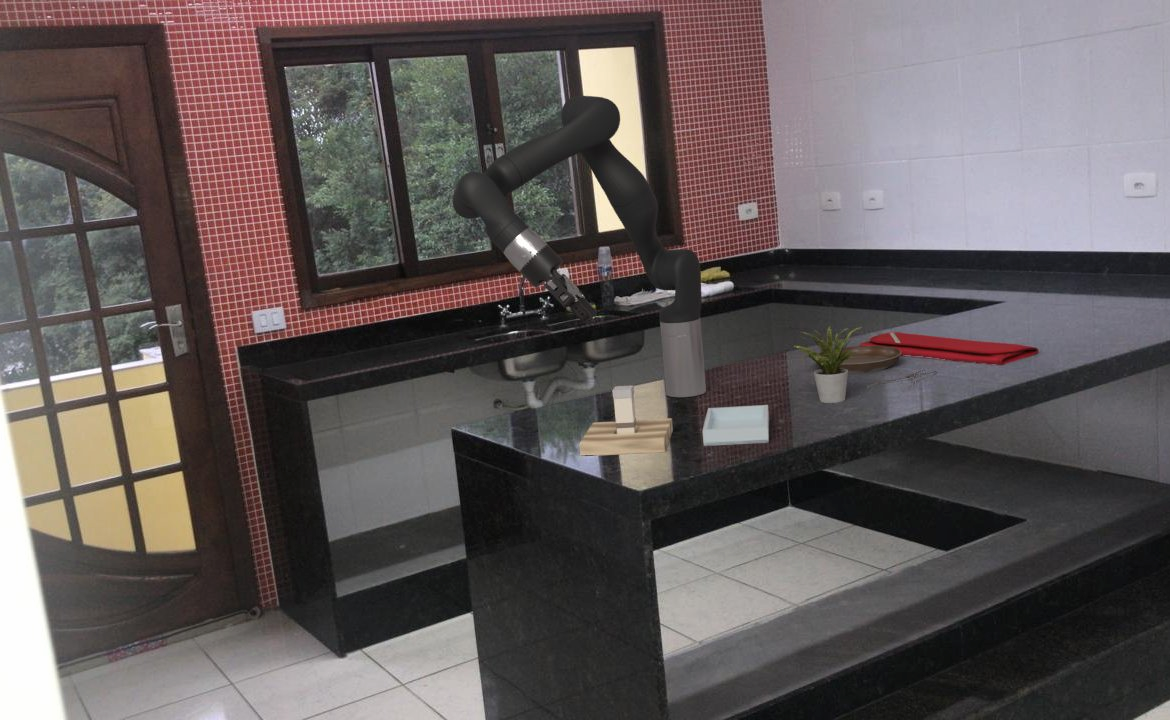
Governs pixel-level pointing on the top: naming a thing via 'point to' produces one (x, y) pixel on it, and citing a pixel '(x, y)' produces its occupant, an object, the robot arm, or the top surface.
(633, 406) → the block
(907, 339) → the dish drying mat
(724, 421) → the parts tray
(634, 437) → the wooden board with hole
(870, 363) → the plant saucer
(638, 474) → the top surface
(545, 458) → the top surface
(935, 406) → the top surface
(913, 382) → the pliers
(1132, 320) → the top surface
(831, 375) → the house plant
